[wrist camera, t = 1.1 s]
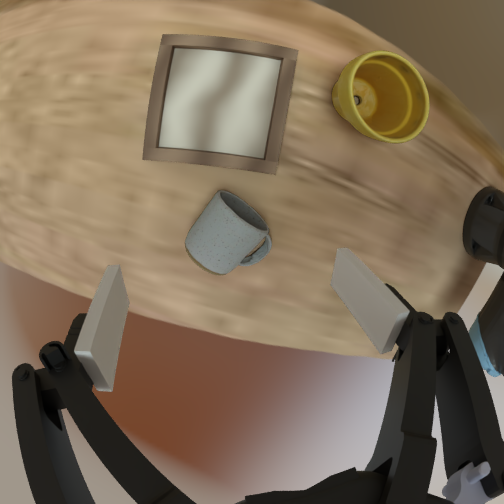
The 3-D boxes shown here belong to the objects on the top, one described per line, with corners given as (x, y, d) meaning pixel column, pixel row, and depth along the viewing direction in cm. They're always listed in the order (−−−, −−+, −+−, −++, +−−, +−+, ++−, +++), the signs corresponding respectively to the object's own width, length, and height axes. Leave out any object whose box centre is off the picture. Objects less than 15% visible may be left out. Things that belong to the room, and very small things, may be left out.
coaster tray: (294, 54, 27) (298, 50, 25) (272, 171, 34) (275, 174, 32) (166, 39, 25) (162, 34, 23) (147, 157, 31) (142, 159, 29)
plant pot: (365, 151, 33) (406, 163, 24) (303, 108, 30) (331, 103, 22) (397, 95, 30) (441, 94, 21) (339, 50, 27) (375, 31, 18)
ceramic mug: (184, 232, 36) (175, 259, 29) (219, 183, 34) (218, 199, 27) (247, 271, 40) (252, 303, 33) (283, 228, 37) (296, 253, 31)
